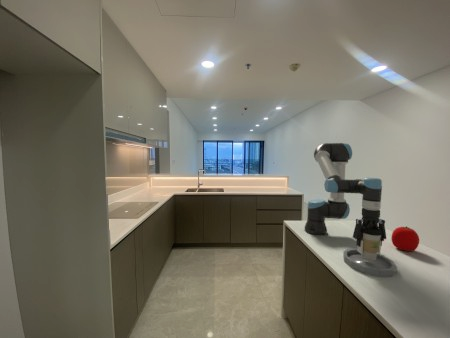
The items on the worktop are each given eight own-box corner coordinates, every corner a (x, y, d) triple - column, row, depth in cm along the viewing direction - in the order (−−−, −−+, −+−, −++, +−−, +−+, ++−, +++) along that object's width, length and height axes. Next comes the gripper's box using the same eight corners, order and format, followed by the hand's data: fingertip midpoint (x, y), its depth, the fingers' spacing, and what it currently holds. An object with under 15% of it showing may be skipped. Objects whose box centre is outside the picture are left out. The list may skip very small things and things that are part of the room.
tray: (335, 254, 112) (335, 249, 111) (371, 253, 113) (371, 248, 113) (363, 277, 90) (364, 270, 90) (408, 276, 92) (408, 269, 91)
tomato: (394, 251, 116) (395, 227, 115) (388, 243, 126) (389, 221, 125) (422, 256, 111) (424, 231, 110) (414, 247, 121) (415, 225, 120)
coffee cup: (385, 263, 95) (387, 232, 95) (362, 260, 97) (363, 230, 97) (374, 253, 105) (375, 225, 104) (353, 251, 107) (355, 224, 106)
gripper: (355, 210, 96) (353, 256, 97) (398, 210, 97) (395, 255, 98) (345, 206, 103) (343, 249, 104) (384, 206, 104) (382, 248, 106)
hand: (368, 252), depth 101 cm, fingers closed on coffee cup, 9 cm apart
